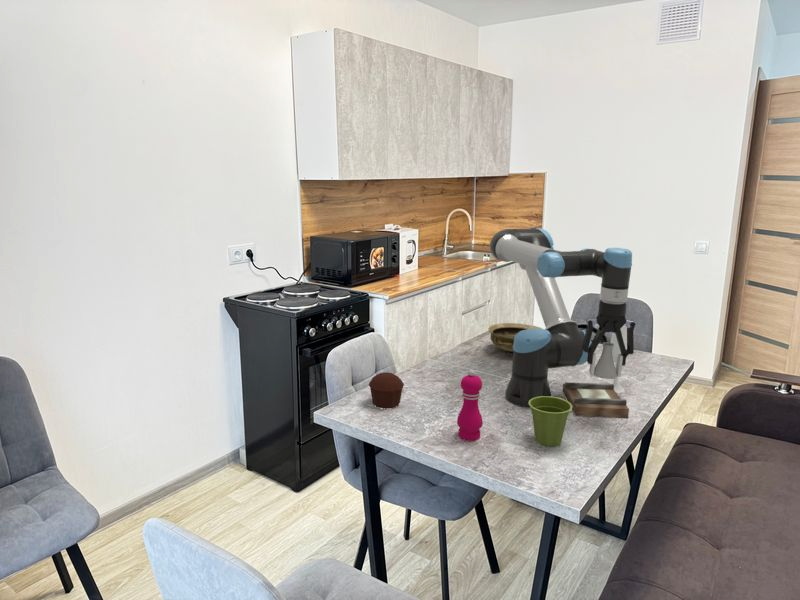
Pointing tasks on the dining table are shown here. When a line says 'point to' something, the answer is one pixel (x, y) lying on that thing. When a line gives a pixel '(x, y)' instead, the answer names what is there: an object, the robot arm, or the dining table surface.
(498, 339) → the ceramic bowl
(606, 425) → the dining table surface
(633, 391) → the dining table surface
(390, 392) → the muffin
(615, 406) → the dock
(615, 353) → the champagne flute
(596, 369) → the flask
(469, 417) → the pepper mill
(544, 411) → the plant pot
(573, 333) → the robot arm
